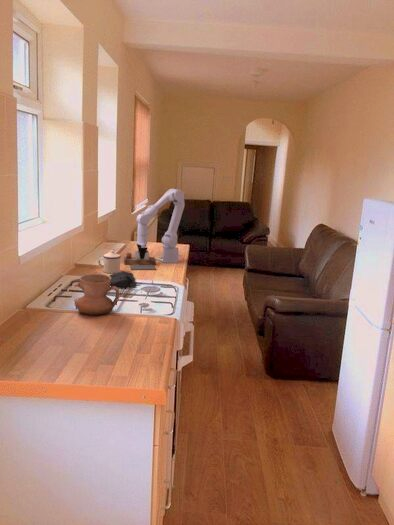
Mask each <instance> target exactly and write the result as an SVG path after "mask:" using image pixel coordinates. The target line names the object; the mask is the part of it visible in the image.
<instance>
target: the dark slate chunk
mask: <svg viewBox="0 0 394 525" xmlns="http://www.w3.org/2000/svg"><path fill="white" fill-rule="evenodd" d="M109 276H110V277H111V284H110V286H115V287H117V288H118V289H129V288H130V289H133V288H134V289H135V288H136V287H137V284H136V279H135V276H134V273H132V272H128V271H120V272H119V273H115V274H110V275H109Z"/></svg>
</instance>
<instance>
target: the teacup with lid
mask: <svg viewBox="0 0 394 525" xmlns="http://www.w3.org/2000/svg"><path fill="white" fill-rule="evenodd" d="M101 260H103V265H102V264H101ZM97 261H98V265H99V266H100V267H101V268H103V273H106V274H110V275H112V274H116V273H119V272H121V255H120V254H119V253H117V252H116V251H115V250H110V251H109V252H107V253H105V254H103V256H102V257H100V258H99V259H98V260H97Z"/></svg>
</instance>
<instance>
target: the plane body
mask: <svg viewBox="0 0 394 525" xmlns="http://www.w3.org/2000/svg"><path fill="white" fill-rule="evenodd" d="M125 254H126V255H125V256H124V257H123V263H124V266H130V265H155V266H156V264H157V261H156V258H155V257H154V256H153V257H152V256H149V260H144V259H135V258H134V257H135V256H132V253H131V252H127V253H125Z"/></svg>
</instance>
